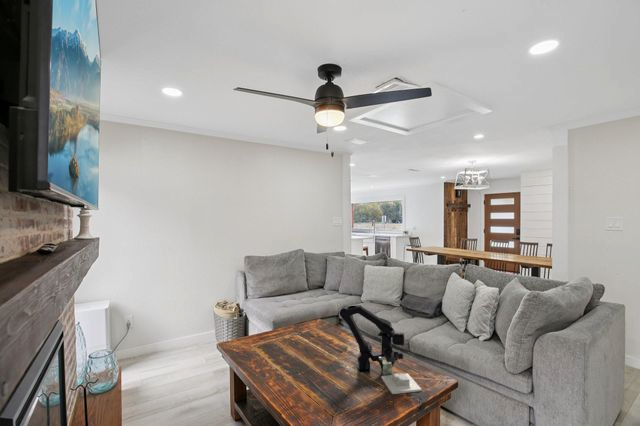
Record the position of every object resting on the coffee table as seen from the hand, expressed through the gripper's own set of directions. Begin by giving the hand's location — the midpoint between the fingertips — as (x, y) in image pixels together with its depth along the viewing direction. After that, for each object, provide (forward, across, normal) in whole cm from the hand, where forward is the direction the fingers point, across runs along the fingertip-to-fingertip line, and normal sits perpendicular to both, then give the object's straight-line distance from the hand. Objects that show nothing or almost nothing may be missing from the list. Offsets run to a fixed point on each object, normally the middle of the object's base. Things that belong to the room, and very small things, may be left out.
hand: (386, 370), depth 184 cm
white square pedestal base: (+1, +3, -13) cm, 13 cm away
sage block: (+1, 0, 0) cm, 1 cm away
